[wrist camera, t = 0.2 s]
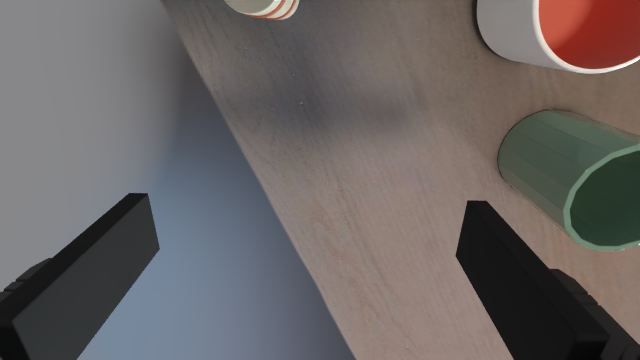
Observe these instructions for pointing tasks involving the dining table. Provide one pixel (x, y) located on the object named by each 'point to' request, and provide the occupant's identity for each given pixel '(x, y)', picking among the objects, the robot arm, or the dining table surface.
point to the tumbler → (577, 176)
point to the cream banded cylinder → (265, 8)
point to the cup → (563, 32)
